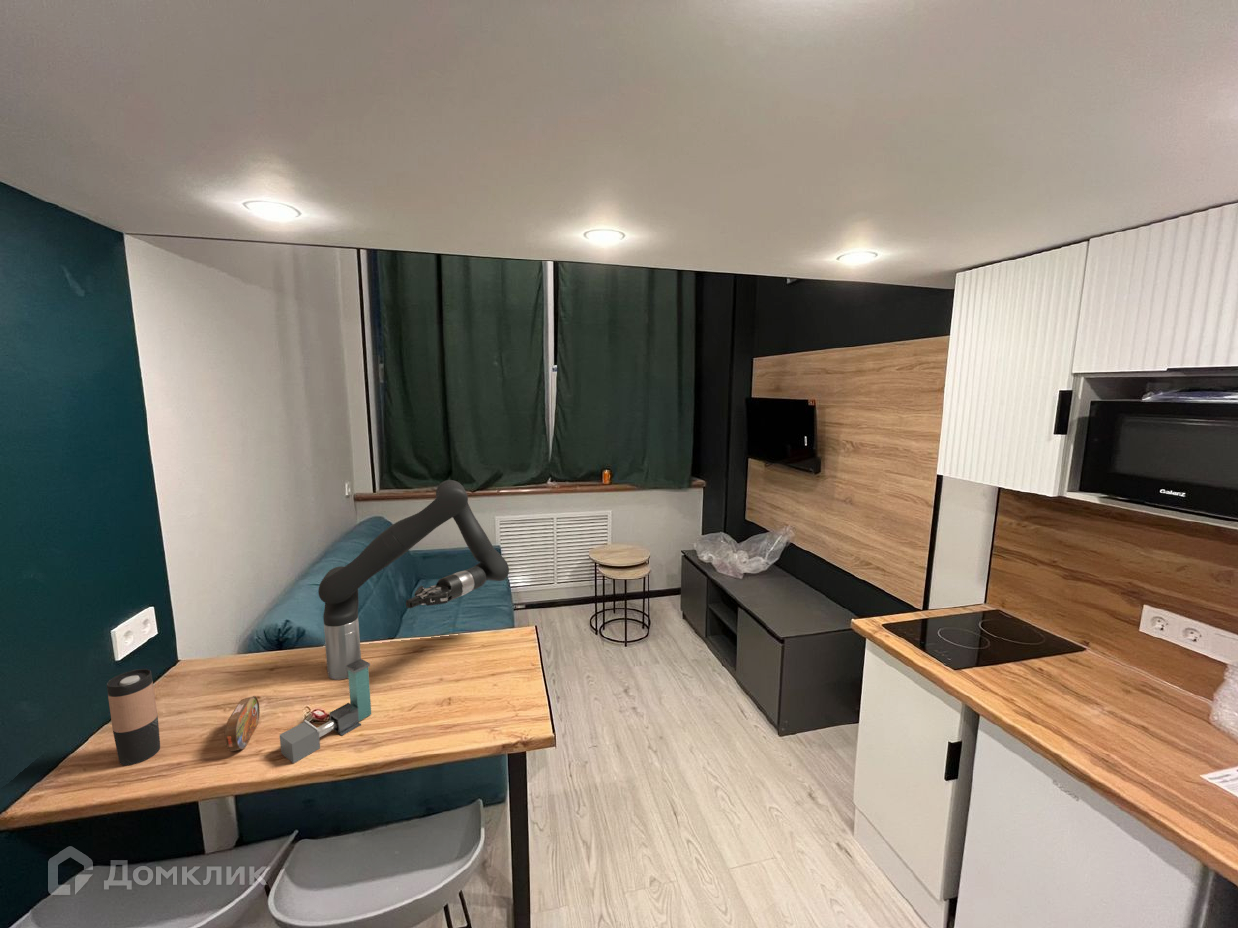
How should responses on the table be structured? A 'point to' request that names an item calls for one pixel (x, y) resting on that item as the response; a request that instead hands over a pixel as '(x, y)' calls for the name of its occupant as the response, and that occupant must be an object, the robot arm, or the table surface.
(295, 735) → the socket
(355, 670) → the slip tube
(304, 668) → the table surface
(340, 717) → the sleeve
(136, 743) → the travel mug
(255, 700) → the tin
